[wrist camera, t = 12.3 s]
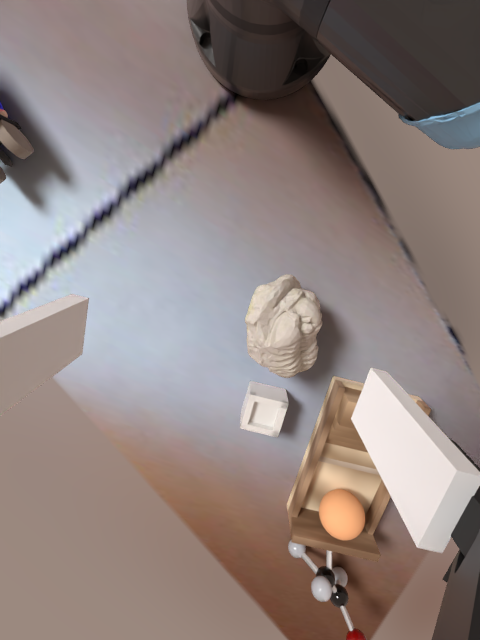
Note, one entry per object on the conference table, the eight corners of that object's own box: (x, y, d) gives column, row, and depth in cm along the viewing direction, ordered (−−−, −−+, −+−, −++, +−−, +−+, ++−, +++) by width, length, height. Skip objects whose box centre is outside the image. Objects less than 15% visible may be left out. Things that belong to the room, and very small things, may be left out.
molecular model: (331, 516, 50) (351, 590, 40) (366, 567, 53) (394, 649, 43) (284, 537, 52) (292, 613, 42) (321, 586, 55) (337, 670, 44)
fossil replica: (313, 359, 43) (331, 397, 34) (250, 363, 44) (250, 401, 34) (312, 267, 40) (331, 280, 31) (243, 272, 41) (241, 286, 31)
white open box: (249, 380, 45) (249, 394, 41) (285, 389, 45) (288, 403, 41) (241, 412, 46) (240, 428, 42) (275, 420, 46) (277, 437, 42)
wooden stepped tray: (332, 375, 44) (345, 399, 38) (418, 396, 44) (444, 423, 38) (286, 504, 50) (291, 542, 44) (362, 522, 50) (377, 561, 44)
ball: (310, 501, 49) (324, 475, 46) (349, 510, 49) (365, 485, 46) (315, 544, 44) (331, 517, 41) (359, 554, 44) (378, 528, 41)
